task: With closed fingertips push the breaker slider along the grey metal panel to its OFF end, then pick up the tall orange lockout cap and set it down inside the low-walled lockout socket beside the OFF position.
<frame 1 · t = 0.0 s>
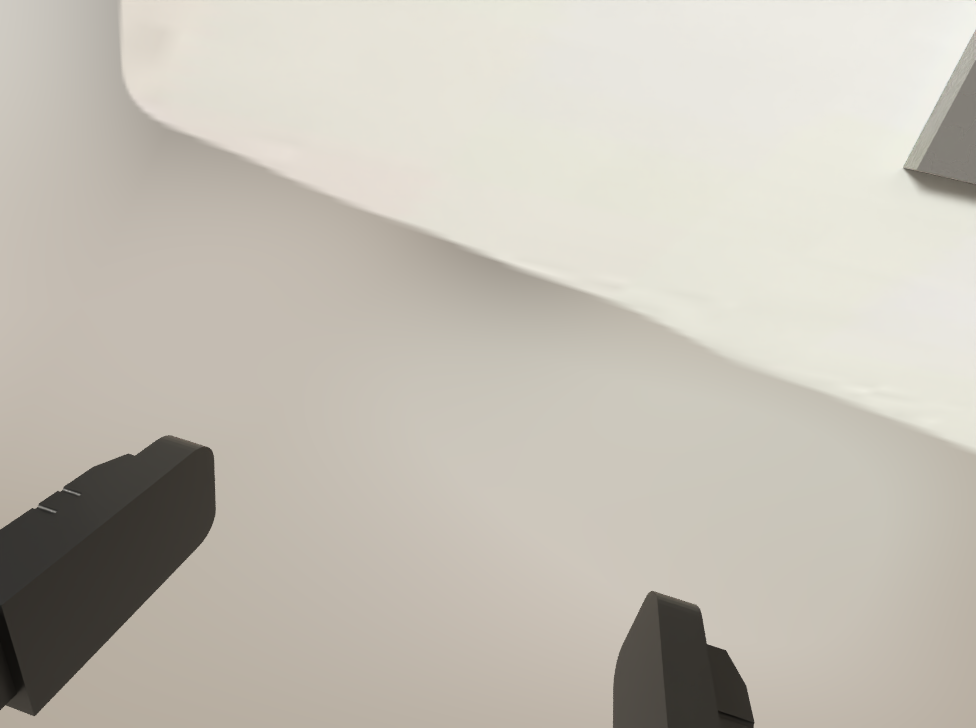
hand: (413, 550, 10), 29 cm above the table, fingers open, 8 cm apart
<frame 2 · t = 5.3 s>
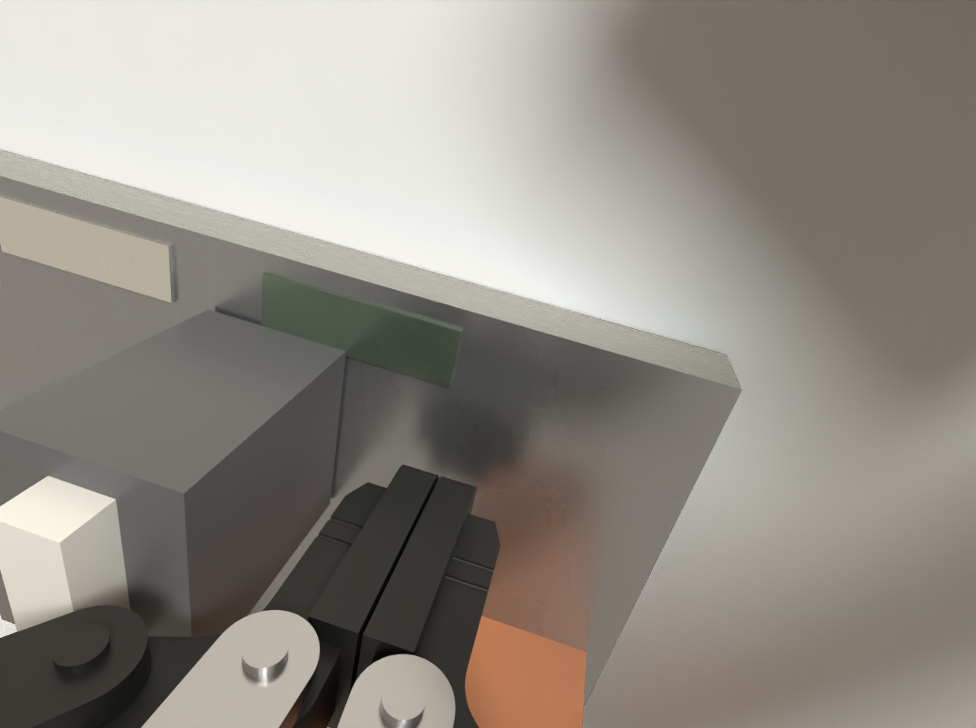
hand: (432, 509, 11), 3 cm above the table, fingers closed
lockout cap: (487, 674, 14), point 1 cm above the table, touching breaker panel
breaker slider: (186, 488, 9), point 4 cm above the table, slide at 1.7 cm, touching gripper
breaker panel: (257, 461, 15), on the table
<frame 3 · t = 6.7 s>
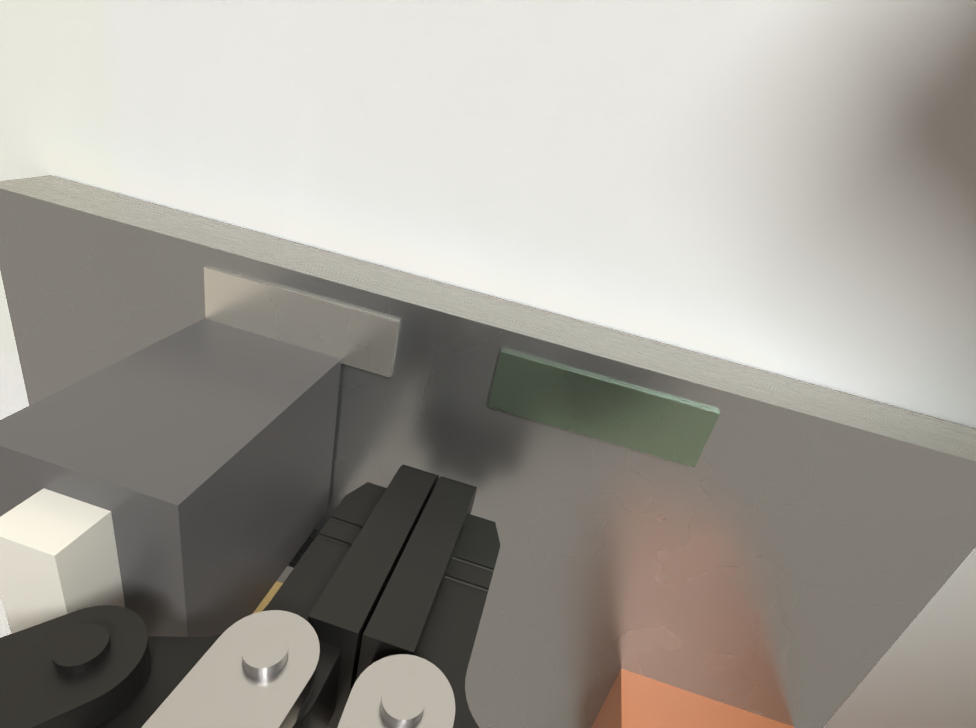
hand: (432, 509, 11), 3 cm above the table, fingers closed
breaker slider: (183, 497, 9), point 4 cm above the table, slide at 6.5 cm, touching gripper
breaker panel: (426, 522, 14), on the table
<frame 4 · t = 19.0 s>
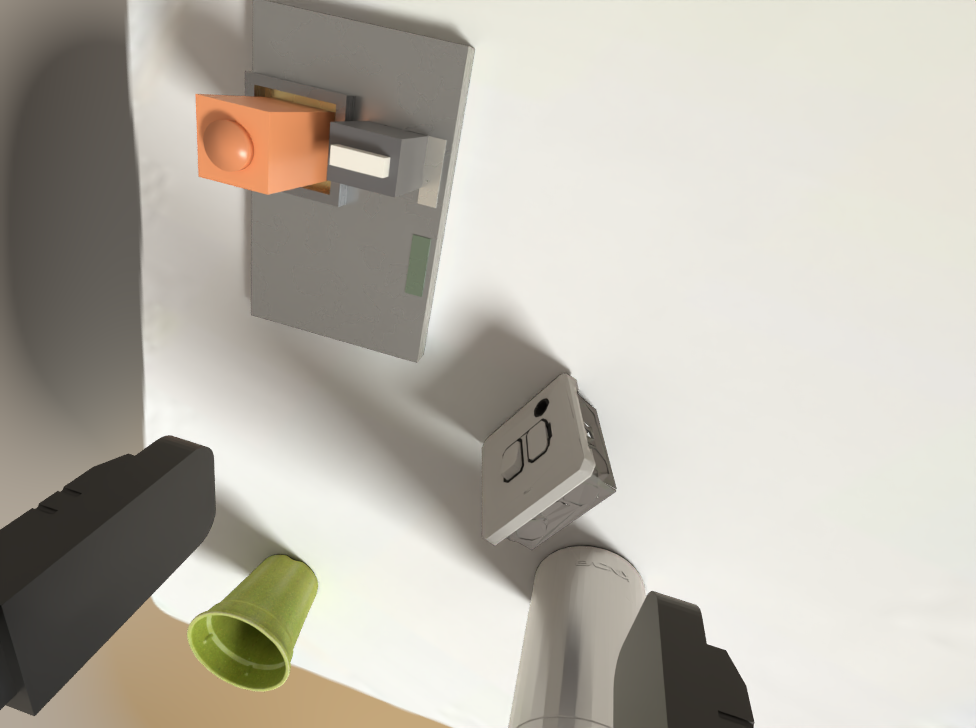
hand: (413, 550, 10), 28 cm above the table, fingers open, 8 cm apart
plant pot: (292, 575, 54), on the table
lockout cap: (303, 139, 34), point 2 cm above the table, touching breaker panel
electrical switch: (551, 426, 41), on the table
breaker slider: (376, 157, 31), point 4 cm above the table, slide at 6.5 cm
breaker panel: (353, 197, 36), on the table
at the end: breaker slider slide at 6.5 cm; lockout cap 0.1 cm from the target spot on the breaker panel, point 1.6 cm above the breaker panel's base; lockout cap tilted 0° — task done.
